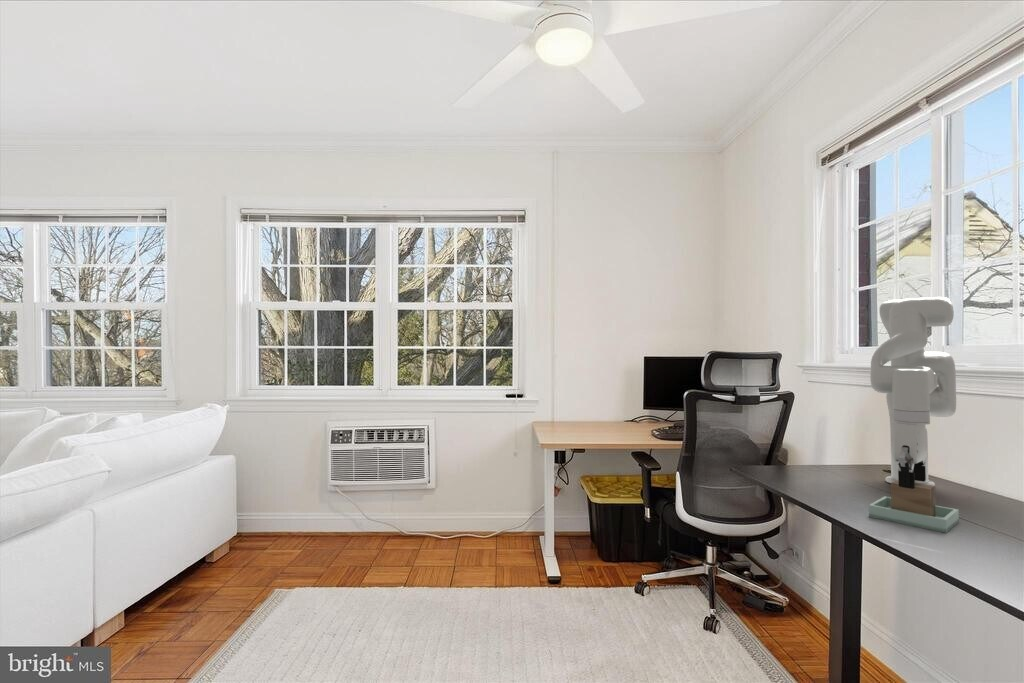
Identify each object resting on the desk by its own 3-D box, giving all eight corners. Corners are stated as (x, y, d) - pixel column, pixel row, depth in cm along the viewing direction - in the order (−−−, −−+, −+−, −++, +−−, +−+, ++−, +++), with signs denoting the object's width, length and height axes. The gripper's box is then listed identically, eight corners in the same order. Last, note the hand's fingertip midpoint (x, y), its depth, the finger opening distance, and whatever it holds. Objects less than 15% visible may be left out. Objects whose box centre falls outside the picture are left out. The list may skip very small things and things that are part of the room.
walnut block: (897, 510, 136) (896, 479, 137) (935, 517, 130) (934, 485, 130) (891, 514, 133) (890, 482, 133) (930, 521, 127) (929, 489, 127)
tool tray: (884, 507, 142) (884, 496, 142) (958, 521, 130) (958, 509, 130) (868, 516, 134) (868, 505, 134) (946, 532, 122) (946, 520, 122)
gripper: (903, 412, 141) (904, 475, 141) (882, 419, 130) (883, 487, 130) (938, 414, 135) (939, 480, 135) (919, 422, 124) (921, 494, 124)
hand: (912, 483), depth 132 cm, fingers open, 9 cm apart
